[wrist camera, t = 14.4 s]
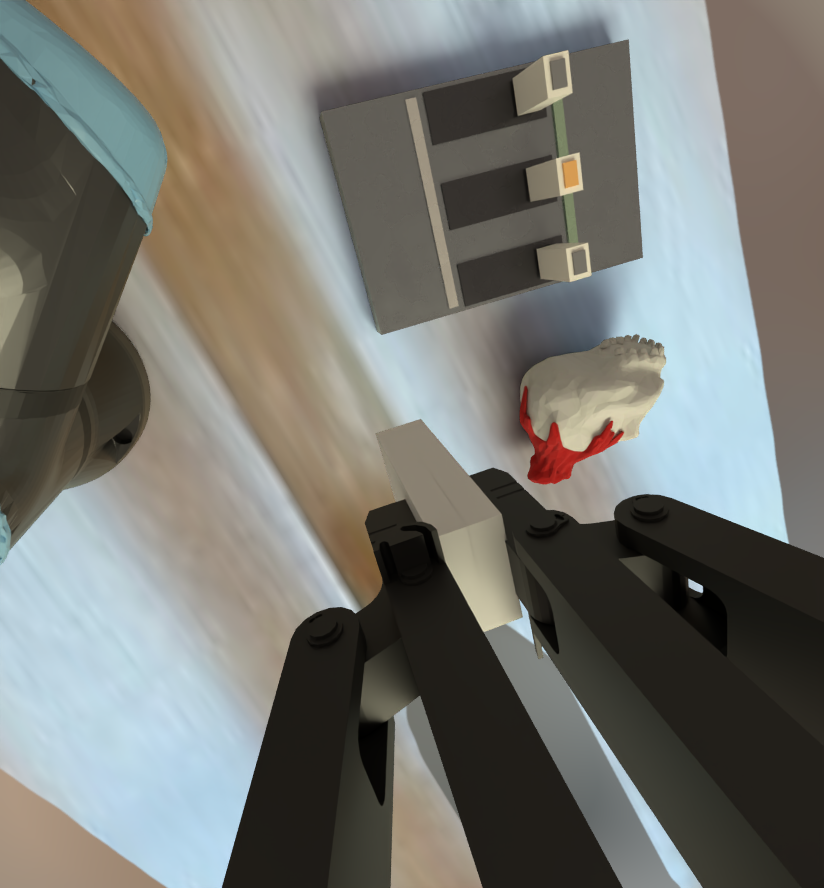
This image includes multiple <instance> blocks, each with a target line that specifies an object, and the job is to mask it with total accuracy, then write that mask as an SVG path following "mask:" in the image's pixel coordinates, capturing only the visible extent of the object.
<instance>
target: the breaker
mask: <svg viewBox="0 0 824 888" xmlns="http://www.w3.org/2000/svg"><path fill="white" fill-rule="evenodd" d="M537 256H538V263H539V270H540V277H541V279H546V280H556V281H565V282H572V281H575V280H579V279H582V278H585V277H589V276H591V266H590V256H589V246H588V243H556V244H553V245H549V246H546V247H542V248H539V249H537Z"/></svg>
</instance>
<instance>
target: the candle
mask: <svg viewBox="0 0 824 888" xmlns="http://www.w3.org/2000/svg"><path fill="white" fill-rule="evenodd" d="M631 337H632V336H629V335H627V336H625V337H624V338H623V337H616V338H609V339H606V340H604V341H603V342H601V344H600V345H598V346H596V347H594V348H592V349H591V350H589V351H583V352H575V353H568V354H563V355H559V356H554V357H549V358H547V359H545V360H543V361H542V362H540V363H538V364H536V365H534V366H533V367H532V368H531V369H530V370H528V372H527V373H526V374H525V375H524V377H523V380H522V383H521V386H520V402H521V406H520V423H521V425H522V427H523V428H524V429H525V431H526V432H527V433H528V434H529V438H530V440H531V442H532V444H533V446H534V449H535V454H534V455H533V456H532V457H531V460H530V465H531V466H530V470H529V472H528V475H527V476H528V479H529V480H531V481H532V482H534V483H539V484H549V483H553V484H556V483H558V482H560V481H561V480H563V479H569V478H570V476H571V471H572V468H573V465H574V464H575V463H576V462H579V461H581V460H583V459H585V458H587V457H589V456H592V455H595V454H598V453H600V452H603V451H604V450H605V449H607V448H608V447H610V446H612V445H614V444H616V443H618V442H619V441H625V440H630V439H633V438H636V437H638V435H639V425H640V423H641V421H642V420H643V418H644V417H645V415H646V414H647V413H648V412H649V410H650V409H651V408H652V407H653V405H654V403H655V402H656V400H657V399H658V397H659V395H660V393H661V391H662V389H663V385H664V381H663V380H662V379H661V378H660V373H661V370H662V368H663V367H664V365H665V364H666V357H665V355H664V347H663V346H662V344H661V343H656V344H655V342H654V340H651V339H649V340H648V342H647V340H646V338H642V339H641V340H640V342H639V343H638V340H639V335H637V334H636V335H634V336H633V337H632V339H631Z"/></svg>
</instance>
